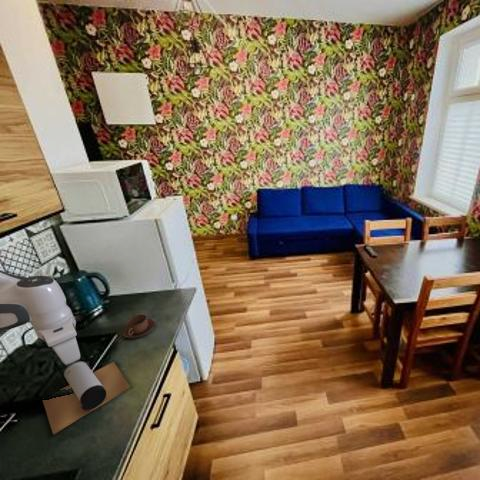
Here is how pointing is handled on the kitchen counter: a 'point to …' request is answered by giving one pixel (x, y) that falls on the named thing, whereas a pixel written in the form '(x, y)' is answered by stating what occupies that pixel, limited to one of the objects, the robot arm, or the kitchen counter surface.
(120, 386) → the cork mat
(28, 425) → the kitchen counter surface
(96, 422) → the kitchen counter surface
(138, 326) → the cup and saucer
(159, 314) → the kitchen counter surface
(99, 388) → the travel mug
